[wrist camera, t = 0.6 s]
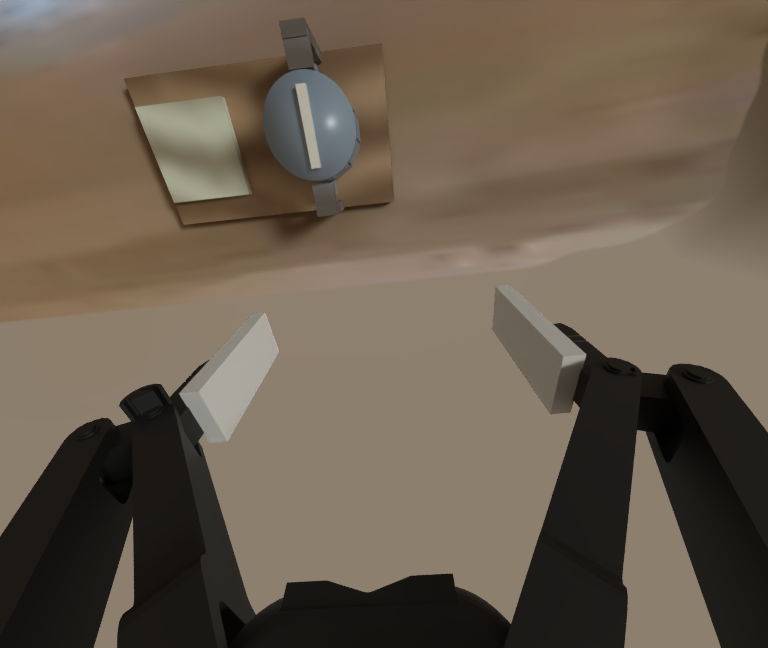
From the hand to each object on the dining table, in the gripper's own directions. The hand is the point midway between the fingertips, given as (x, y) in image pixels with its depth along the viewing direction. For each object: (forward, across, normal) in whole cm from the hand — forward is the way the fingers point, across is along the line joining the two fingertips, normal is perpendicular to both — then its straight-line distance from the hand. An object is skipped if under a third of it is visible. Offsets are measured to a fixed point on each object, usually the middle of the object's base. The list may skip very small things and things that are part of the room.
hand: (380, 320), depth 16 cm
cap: (+20, -5, +11) cm, 24 cm away
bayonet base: (+23, -11, +11) cm, 28 cm away
